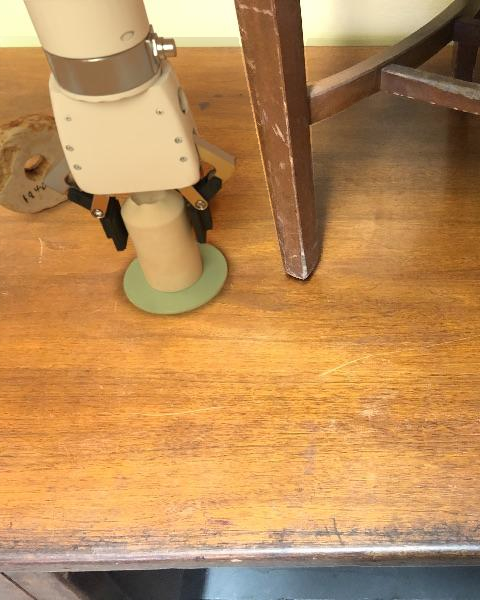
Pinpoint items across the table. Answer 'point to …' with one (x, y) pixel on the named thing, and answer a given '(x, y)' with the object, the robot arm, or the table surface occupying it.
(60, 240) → the table surface
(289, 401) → the table surface
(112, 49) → the robot arm
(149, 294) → the coaster
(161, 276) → the candle
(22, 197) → the stone disc
